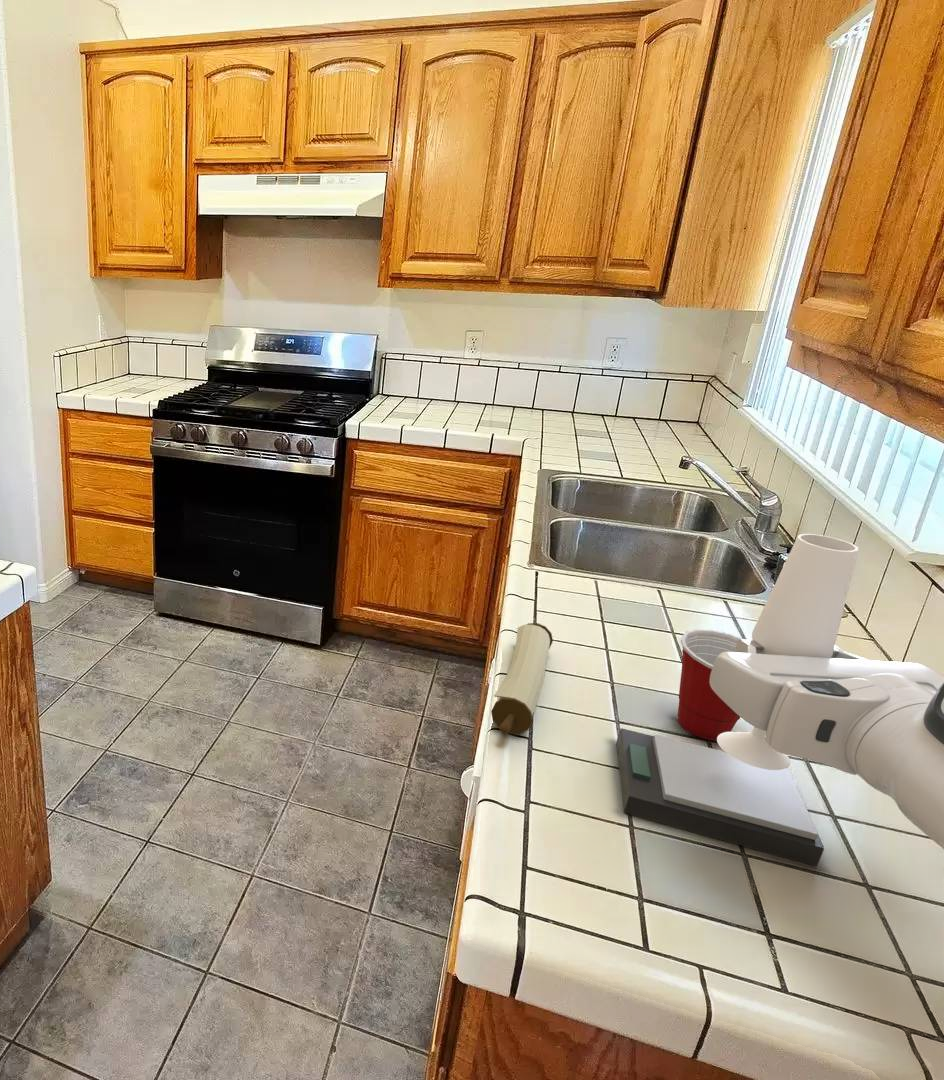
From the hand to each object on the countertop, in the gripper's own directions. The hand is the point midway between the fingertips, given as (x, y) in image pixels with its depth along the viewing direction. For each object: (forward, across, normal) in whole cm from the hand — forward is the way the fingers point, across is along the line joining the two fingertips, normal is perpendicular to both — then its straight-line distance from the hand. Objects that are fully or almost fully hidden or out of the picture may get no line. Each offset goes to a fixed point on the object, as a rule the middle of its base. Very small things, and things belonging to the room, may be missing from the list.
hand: (782, 648), depth 77 cm
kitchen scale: (+2, +1, +21) cm, 21 cm away
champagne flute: (-1, 0, +12) cm, 12 cm away
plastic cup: (+16, -6, +21) cm, 27 cm away
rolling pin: (+23, +16, +21) cm, 35 cm away
